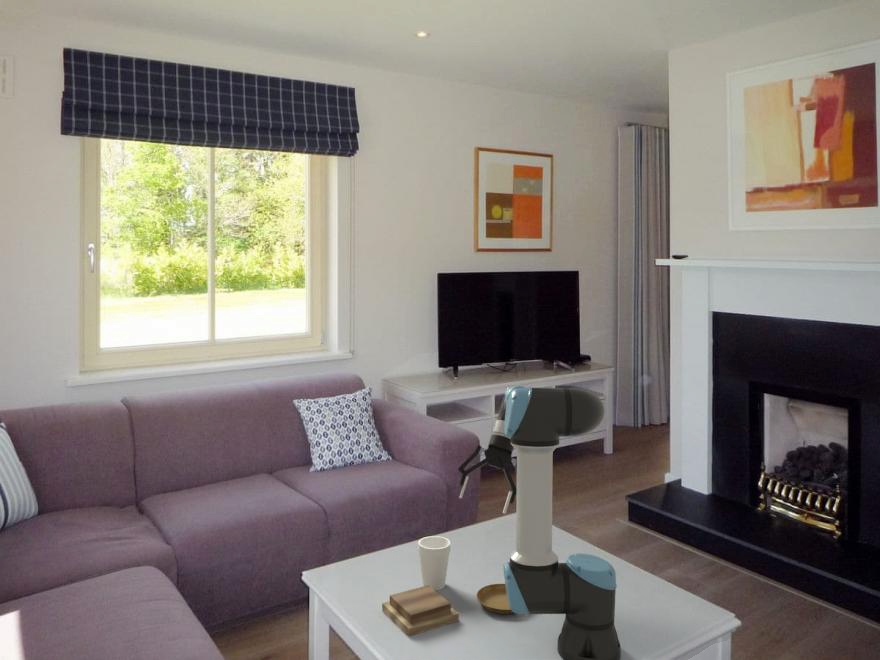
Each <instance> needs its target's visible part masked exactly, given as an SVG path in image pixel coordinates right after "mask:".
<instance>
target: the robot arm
mask: <svg viewBox="0 0 880 660" xmlns="http://www.w3.org/2000/svg"><path fill="white" fill-rule="evenodd" d="M605 411H606V410H605V405H604V403H603V401H602V399H601V398H600V396H598V395H597V394H596V393H594V392H592V391H589V390H586V389H582V388H576V387H529V386H528V387H526V386H523V385H516V386H511V387H510V386H509V387H507V388H506V391H505V393H504V396H503V397H502V401H501V405H500V408H499V411H498V415H497V418H496V420H495V424H494V426H493V430H492V433H493V434H492V435H491V436H490V439H489V441H488V445H487V448H484V447H482V446H481V445H479V444H478V445H477V446H476V449H475V451H474V452H473V453H471V455H470V456H469V457H467V458H466V460H465V461H464V462H462V464H461V465H460V466H459V467H458V469H457V471H458V472H459V473H460V474H461V478H460V481H459V486H460V487H462V488H461V490H460V494H459V497H458V498H459V499H463V496H464V492H465V490H466V487H467V483H468V481H469V476H468V475H470V474H471V473H473V472H474V471H476V470H478V469H479V468H481V467H484V465H486V464H488V466H489V467H495V468H496V469H500V470H501V469H502V471H503V473H504V475H505V478H506V480H507V482H508V484H509V488H510V490H509V492H508V494H507V497H506V502H505V504H504V507H503V511H502V514H504V515H505V514H507V511H508V508H509V506H510V505H509V504H511V505H513V503H514V501H515V498H516V516H515V517H516V520H515V521H516V524H515V525H516V527H515V528H516V529H515V530H516V533H515V534H516V535H515V536H516V537H515V538H516V539H515V546H516V547H515V549H514V550H513V551H512V552H511V553H510V554H509V561H507V562H504V564H502V565H503V577H504V584H505V586H506V592H507V598H508V603H509V607H510V609H511V610H512V611H513V612H514V613H513V614H521V615H528V616H531V615H565V618H564V621H563V624H562V628H561V631H560V633H559V635H558V638H557V645H556V646H557V648H556V649H557V653H558V655H559V656H560V657H561V658H562V659H563V660H621V656H622V655H621V654H622V652H621V651H622V647H621V646H622V645H621V643H620V640H619V636H618V633H617V629H616V626H615V617H616V616H615V614H616V613H615V611H616V589H617V578H616V576H617V575H616V569H615V568H614V566H613V565H612V564H611V563H610V562H608V561H607V560H605V559H603V558H601V557H599V556H597V555H594V554H589V553H581V552H579V553H577V552H576V553H573V554H570V555H569V556H568V557H567V559H566V560H565V561H566V562H559V556H558V555H557V554H556V552H554V551H553V478H554V477H553V476H554V475H553V468H554V467H553V463H554V462H553V461H554V460H553V456H554V454H553V452H554V451H555V450H556V449H557V448H558V447H559V446H560V437H565V438H566V437H568V438H569V437H578V436H582V435H585V434H588V433H590V432H592V431H594V430H596V428H598V427H599V426H600V425H601V423H602V422H603V420H604V417H605ZM514 449H515V450H516V458H513V457H512V455H513V452H514ZM482 453H484V456H485V458H484V459H482V460H481V461H479V462H478V463H475V464H474V465H473V466H471V467H469V468H467V466H468V465H469V464H470V463H472V461H474V459H475V458H476V457H477V456H478V455H482ZM510 463H512V466H513V467H514V472H515V478H516V483H515V482H514V479H513V478H512V475H511V473H510V469H509V467H508V464H509V465H510ZM466 468H467V469H466ZM465 469H466V470H465Z"/></svg>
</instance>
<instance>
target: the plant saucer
mask: <svg viewBox="0 0 880 660" xmlns="http://www.w3.org/2000/svg"><path fill="white" fill-rule="evenodd" d="M476 598H477V600H478V602H479V604H481V605H482V607H483V608H485V610H487V611H490V613H491V612H492V613H494V614H500V615H501V614H502V615H510V614H515V613H514V612H513V611H512V610H511V609H510V607H509V603H508V598H507V592H506V586H505V583H492V584H489V585H484V586H483V587H481V588H480V589H479V590H478V591H477V593H476Z"/></svg>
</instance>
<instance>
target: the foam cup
mask: <svg viewBox="0 0 880 660" xmlns="http://www.w3.org/2000/svg"><path fill="white" fill-rule="evenodd" d="M451 543H452V542H451V541H450V539H448V538H446V537H444V536H439V535H431V536H429V535H428V536H426V537H422V538H420V539H419V540H418V541H417V553H418V556H419V563H420V572H421V580H422V585H423V586H427V585H429V586H430V587H431V588H432V589H434V590H435V591H440V590H442V589H444V588H445V587H446V579H447V572H448V565H449V557H450V553H451V549H452V548H451ZM423 586H422V587H423Z"/></svg>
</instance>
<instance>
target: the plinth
mask: <svg viewBox="0 0 880 660" xmlns="http://www.w3.org/2000/svg"><path fill="white" fill-rule="evenodd" d="M381 606H382V607H381V609H382V612H383V613H384V614H385V615H387V617H388V618H389V619H390V620H392V622H394V623H395V624H396V625H397V626H398V628H400V629H401V631H403V632H404V633H405V635H407V636H408V637H410V636H413V635H417V634H420V633H422V632H426V631H430V630H433V629H436V628H439V627H442V626H446V625H449V624H452V623H455V622H458V621H459V622H460V619H459V617H460V614H459V613H458V611H456V610H455V609H454V608H452V603H451V602H450V601H448V600H447V599H446V598H445V597H444V596H443V595H441V593H439V592H438V591H437V590H434V589H432V588H431V587H430V586H429V585H427V586H420V587H416V588H413V589H409V590H405V591H401V592H398V593H394V594H390V595H389V601H386V602H383V603H381Z"/></svg>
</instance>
